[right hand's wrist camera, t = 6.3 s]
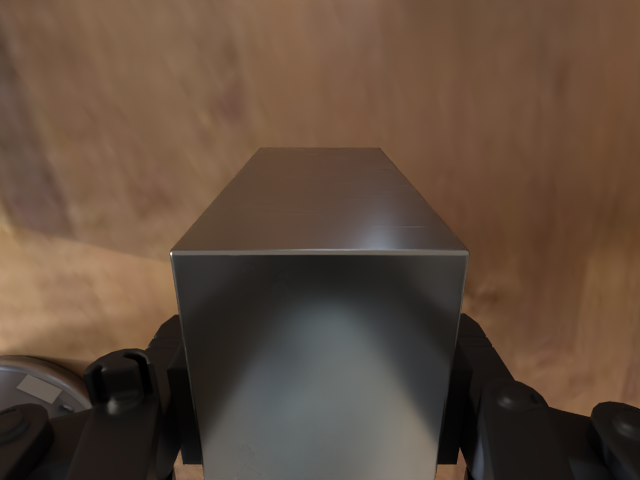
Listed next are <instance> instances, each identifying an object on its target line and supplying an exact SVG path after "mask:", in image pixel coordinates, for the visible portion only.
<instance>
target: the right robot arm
mask: <svg viewBox="0 0 640 480" xmlns="http://www.w3.org/2000/svg"><path fill="white" fill-rule="evenodd" d="M83 376H84V380H85V382H84V381H83V380H82V379H80V378H79V377H77V376H76V375H74V374H73V373H71V372H69V371H68V370H66V369H64V368H62V367H59V366H57V365H55V364H52V363H49V362H46V361H43V360H40V359H36V358H31V357H24V356H0V480H176V477H175V471H174V463H175V460H176V458H177V455H178V452H179V450H180V449H181V455H182V460H183V464H202V460H201V454H200V447H199V441H198V434H197V428H196V421H195V415H194V408H193V402H192V395H191V389H190V382H189V376H188V369H187V363H186V356H185V350H184V343H183V336H182V330H181V323H180V317H179V315H174V316H173V317H171V318H170V319H169V320H167V321H166V322H165V323H163V324H162V325H161V327H160V328H159V330H158V331H157V333H156V334H155V336H154V339H152V341H151V342H150V344H149V345H148V349H146V350H141V349H123V350H119V351H115V352H111V353H109V354H107V355H105V356H102V357H100V358H99V359H97V360H96V361H95V362H93V363H92V364H91V365H89V366H88V368H87V369H86V371H85V372H84V373H83ZM459 448H460V449H461V451H462V454H463V456H464V459H465V462H466V464H467V466H466V471H465V476H464V480H640V409H639V408H636V407H633V406H630V405H627V404H624V403H618V402H611V401H609V402H603V403H599V404H598V405H596V406H595V407H594V408H593V410H592V413H591V416H590V417H587V416H583V415H579V414H574V413H570V412H566V411H561V410H558V409H555V408H551V407H549V406H548V404H547V403H546V401H545V400H544V398H543V397H542V396H541V395H540V394H539V393H538V392H537V391H535V390H534V389H533V388H531V387H529V386H527V385H525V384H523V383H521V382H518V381H515V380H514V378H513V377H512V375H511V373H510V372H509V370H508V369H507V367H506V366H505V364H504V363H503V361H502V360H501V358H500V356H499V355H498V353H497V352H496V350H495V349H494V347H492V344H491V342H490V341H489V339H488V338H487V337H486V335H485V333H484V332H483V330H482V329H481V327H480V325H479V324H478V323H477V322H476V321H474V320H473V319H471V318H470V317H469V316H467V315H466V314H465V313H461V314H460V321H459V327H458V334H457V340H456V347H455V353H454V360H453V366H452V373H451V379H450V386H449V393H448V399H447V406H446V412H445V419H444V425H443V432H442V438H441V445H440V451H439V458H438V464H457V459H458V453H459Z"/></svg>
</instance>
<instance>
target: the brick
mask: <svg viewBox="0 0 640 480" xmlns="http://www.w3.org/2000/svg"><path fill="white" fill-rule="evenodd" d="M469 255H470V253H469V250H468V249H467V248H466V246H465V245H464V244H463V243H462V242H461V241H460V239H459V238H458V237H457V236H456V235H455V234H454V233H453V231H452V230H451V229H450V228H449V227H448V226H447V224H446V223H445V222H444V221H443V220H442V219H441V218H440V216H439V215H438V214H437V213H436V212H435V211H434V209H433V208H432V207H431V206H430V205H429V204H428V203H427V201H426V200H425V199H424V198H423V197H422V196H421V194H420V193H419V192H418V191H417V190H416V189H415V188H414V186H413V185H412V184H411V183H410V182H409V181H408V179H407V178H406V177H405V176H404V175H403V174H402V173H401V171H400V170H399V169H398V168H397V167H396V166H395V164H394V163H393V162H392V161H391V160H390V159H389V158H388V156H387V155H386V154H385V153H384V152H383V151H382V149H381V148H259V149H258V150H257V152H256V153H255V154H254V155H253V156H252V157H251V158H250V160H249V161H248V162H247V163H246V164H245V165H244V166H243V168H242V169H241V170H240V171H239V172H238V173H237V175H236V176H235V177H234V178H233V179H232V180H231V181H230V183H229V184H228V185H227V186H226V187H225V188H224V189H223V191H222V192H221V193H220V194H219V195H218V196H217V198H216V199H215V200H214V201H213V202H212V203H211V204H210V206H209V207H208V208H207V209H206V210H205V211H204V213H203V214H202V215H201V216H200V217H199V218H198V219H197V221H196V222H195V223H194V224H193V225H192V226H191V227H190V229H189V230H188V231H187V232H186V233H185V234H184V236H183V237H182V238H181V239H180V240H179V241H178V242H177V244H176V245H175V246H174V247H173V248H172V249H171V251H170V258H171V265H172V271H173V278H174V284H175V291H176V297H177V304H178V310H179V317H180V323H181V330H182V336H183V343H184V350H185V356H186V363H187V369H188V376H189V382H190V389H191V395H192V402H193V408H194V415H195V421H196V428H197V434H198V441H199V447H200V454H201V460H202V467H203V473H204V480H435V478H436V471H437V465H438V458H439V451H440V445H441V438H442V432H443V425H444V419H445V412H446V406H447V399H448V393H449V386H450V379H451V373H452V366H453V360H454V353H455V347H456V340H457V334H458V327H459V321H460V314H461V308H462V301H463V294H464V288H465V281H466V275H467V268H468V262H469Z"/></svg>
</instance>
